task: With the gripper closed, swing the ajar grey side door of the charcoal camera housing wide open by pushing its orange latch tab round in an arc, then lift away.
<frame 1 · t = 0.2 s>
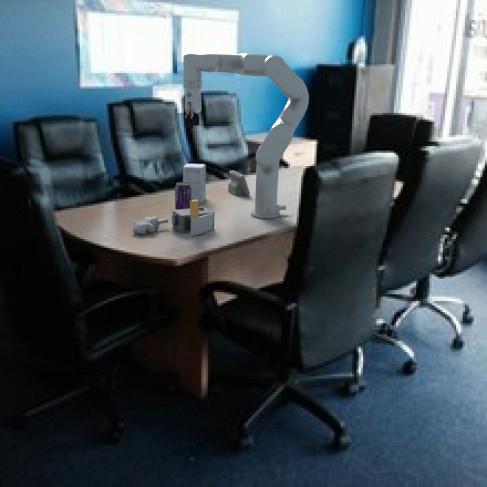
hand: (192, 126, 242), 37 cm above the table, tool pointing down, fingers open, 9 cm apart
bunny figurine: (149, 231, 224), on the table
beverage can: (183, 210, 255), on the table
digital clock: (239, 193, 291), on the table
housing: (193, 228, 229), on the table
supplement box: (194, 200, 273), on the table
door: (203, 215, 220), point 7 cm above the table, hinge at 25.0°
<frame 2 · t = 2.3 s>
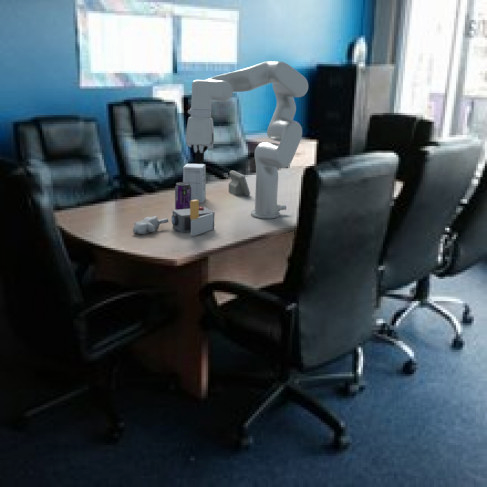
hand: (199, 162, 222), 26 cm above the table, tool pointing down, fingers closed
nothing on the table moved.
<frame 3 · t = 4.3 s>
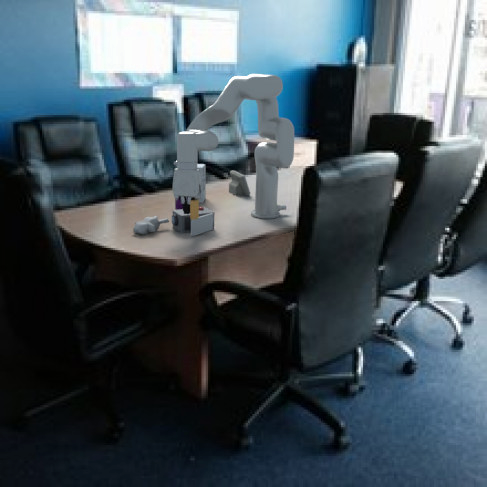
hand: (187, 213, 219), 8 cm above the table, tool pointing down, fingers closed
door: (203, 215, 220), point 7 cm above the table, hinge at 25.0°, touching gripper
everything else where it was.
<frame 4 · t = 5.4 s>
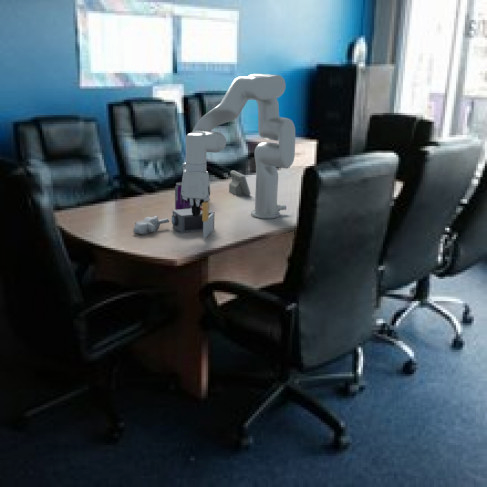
hand: (196, 215, 217), 8 cm above the table, tool pointing down, fingers closed
door: (208, 216, 219), point 7 cm above the table, hinge at 49.8°, touching gripper
everything else where it was.
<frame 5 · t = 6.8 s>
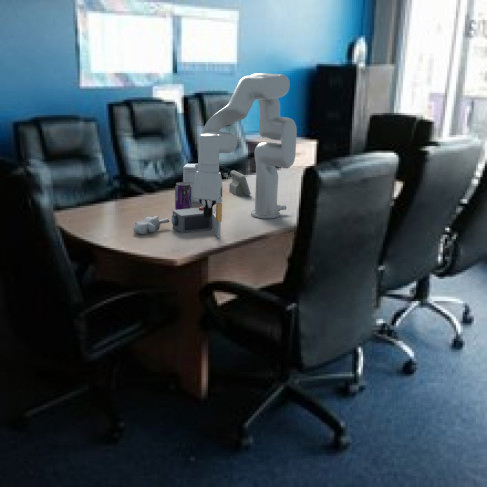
hand: (207, 217, 215), 8 cm above the table, tool pointing down, fingers closed
door: (216, 216, 220), point 7 cm above the table, hinge at 76.1°, touching gripper
everything else where it was.
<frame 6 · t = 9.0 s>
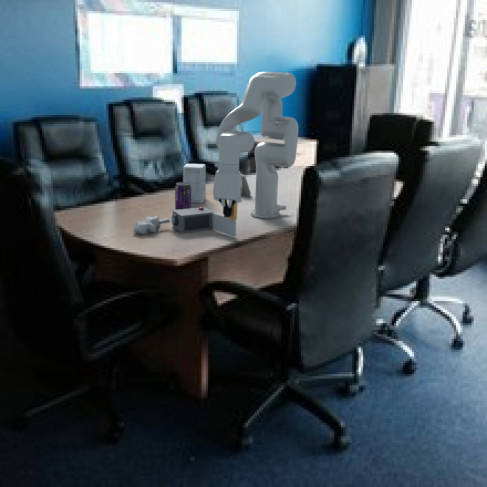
hand: (227, 216, 215), 8 cm above the table, tool pointing down, fingers closed
door: (223, 215, 221), point 7 cm above the table, hinge at 107.4°, touching gripper
everything else where it was.
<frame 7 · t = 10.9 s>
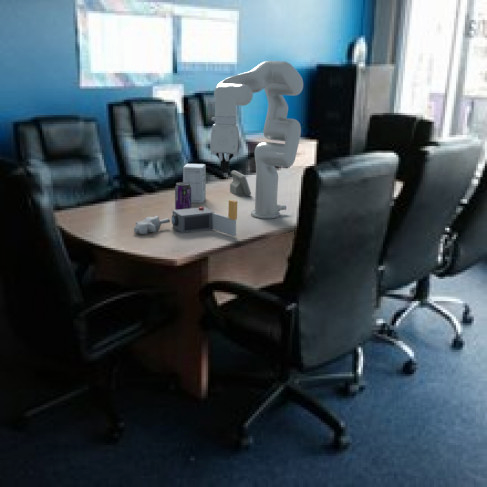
hand: (224, 171, 214), 25 cm above the table, tool pointing down, fingers closed
door: (223, 215, 221), point 7 cm above the table, hinge at 107.6°
everything else where it was.
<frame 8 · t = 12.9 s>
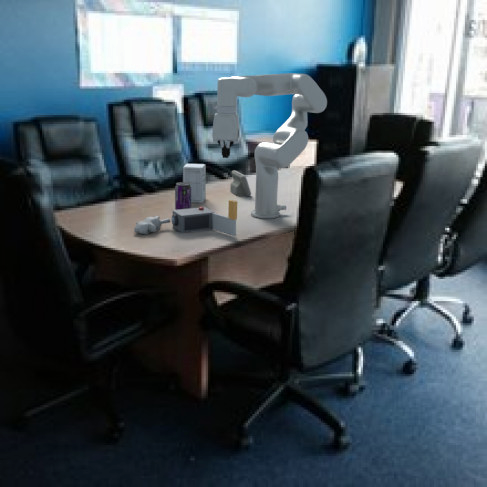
hand: (225, 157, 230), 27 cm above the table, tool pointing down, fingers closed
at the end: door at +108° (first picture: +25°); door touching nothing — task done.
